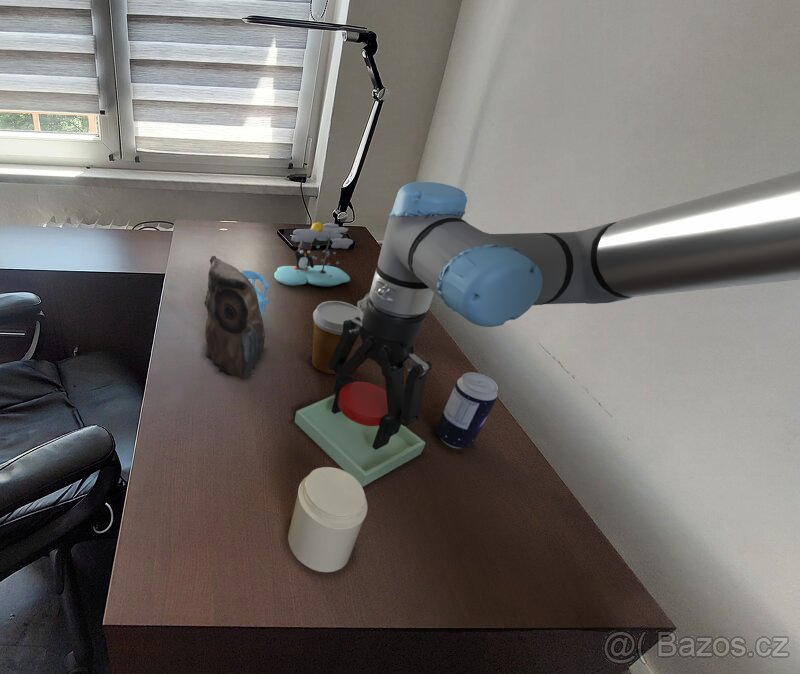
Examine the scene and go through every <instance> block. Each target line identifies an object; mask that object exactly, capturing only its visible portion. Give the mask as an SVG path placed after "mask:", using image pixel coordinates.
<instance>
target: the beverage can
mask: <svg viewBox="0 0 800 674" xmlns="http://www.w3.org/2000/svg"><path fill="white" fill-rule="evenodd" d="M498 390H499V385H498V384H497V382H496V381H495V380H494V379H492V378H491V377H489V376H487V375H485V374H483V373H480V372H479V373H478V372H473V371H472V372H465V373H463V374H462V375H461V377H460V378H458V379H457V380H456V382H455V384H454V386H453V389H452V391H451V393H450V396H449V398H448V400H447V403H446V404H445V406H444V409H443V411H442V413H441V415H440V418H439V420H438V422H437V424H436V427H435V433H436V435H437V436H438V438H439V439H440V441H441V442H442V443H444V444H445V445H447V446H448V447H450V448H454V449H467V448H470V447H472V446H473V445H474V443H475V441H476V440H477V438H478V436H479V433H480V431H481V430H482V428H483V426H484V424H485V422H486V420H487V418H488V416H489V414H490V412H491V411H492V409H493V407H494V405H495V403H496V401H497V399H498V397H499V394H498Z"/></svg>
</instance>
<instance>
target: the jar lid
mask: <svg viewBox="0 0 800 674" xmlns="http://www.w3.org/2000/svg"><path fill="white" fill-rule="evenodd" d="M337 404H338V406H339V409H340V410H341V412H342V413H343V414H344V415H345V416H346V417H347V418H349V419H350V420H352V421H354V422H356V423H359V424H362V425H366V426H380V423H381V420H382V417H383V416H384V415H386V414H388V406H387V395H386V389H384V388H383V387H381V386H379V385H376V384H373V383H372V382H365V381H354V382H351V383H348V384H346V385H345V386H343V387H342V389H341V391H340V393H339V396H338V403H337Z"/></svg>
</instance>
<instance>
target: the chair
mask: <svg viewBox="0 0 800 674" xmlns="http://www.w3.org/2000/svg"><path fill="white" fill-rule="evenodd" d="M240 272H241V273H243V274H244V275H245V276H246V277H247V278H248V280H251V284H252V285H253V287H254V288H255V291H256V294H257V298H258V304H259V308H260V312H261V315H262V320H263V318H264V313H265V309H266V305H268V304H269V303H270V302H269V301H270V299H268V298H267V297H266V292H267V291H268V289H269V284H268V281H267V280H266V277H265V275H263V274H260V273H258V272H255V271H252V270H242V271H240ZM256 280H259V281H260V282H261V284H262V286H263V288H264V289H263V290H262V291H259V289H257V288H256V287H255V286H256Z"/></svg>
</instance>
